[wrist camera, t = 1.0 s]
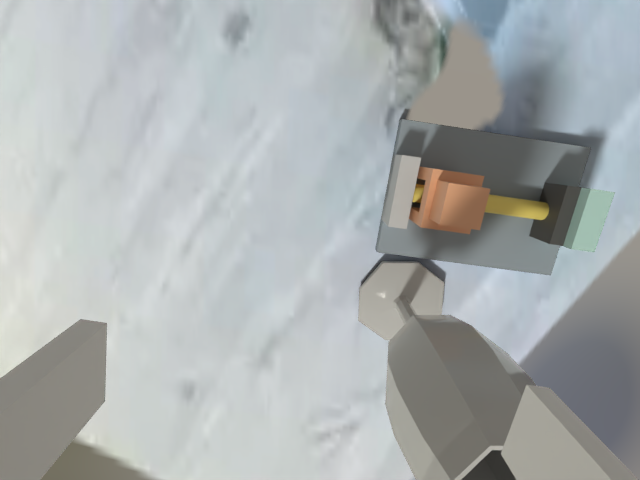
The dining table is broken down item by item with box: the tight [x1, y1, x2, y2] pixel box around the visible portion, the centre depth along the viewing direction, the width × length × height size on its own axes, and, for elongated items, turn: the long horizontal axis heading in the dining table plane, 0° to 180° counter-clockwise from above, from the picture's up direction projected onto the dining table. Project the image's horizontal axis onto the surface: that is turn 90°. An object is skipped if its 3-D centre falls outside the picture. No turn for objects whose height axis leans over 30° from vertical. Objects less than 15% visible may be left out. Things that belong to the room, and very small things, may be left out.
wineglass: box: [358, 261, 536, 480], centre depth 25 cm, size 9×9×21 cm
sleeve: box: [409, 166, 490, 234], centre depth 28 cm, size 5×4×7 cm
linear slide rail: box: [375, 119, 615, 275], centre depth 31 cm, size 12×17×5 cm
